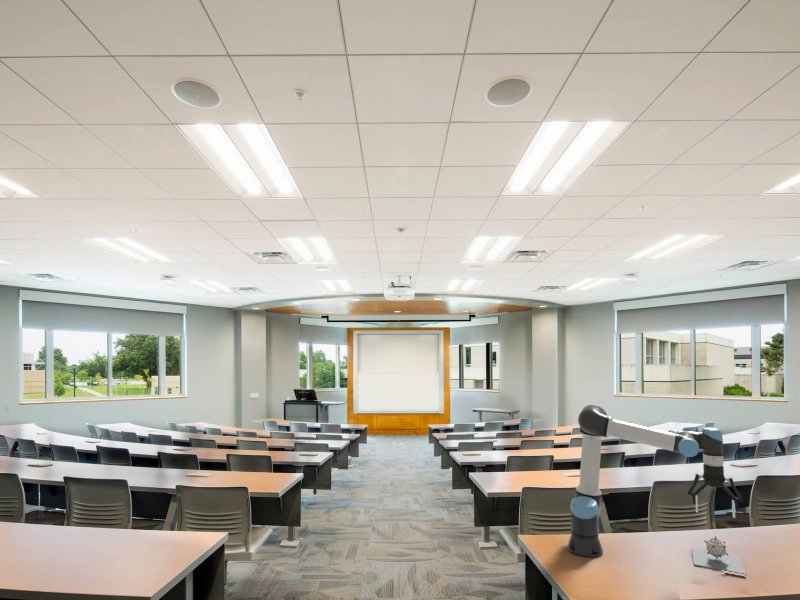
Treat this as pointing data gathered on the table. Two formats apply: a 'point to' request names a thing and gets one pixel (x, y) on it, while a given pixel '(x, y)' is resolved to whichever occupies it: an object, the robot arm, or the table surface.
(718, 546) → the game die
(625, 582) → the table surface
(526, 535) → the table surface
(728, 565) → the board
